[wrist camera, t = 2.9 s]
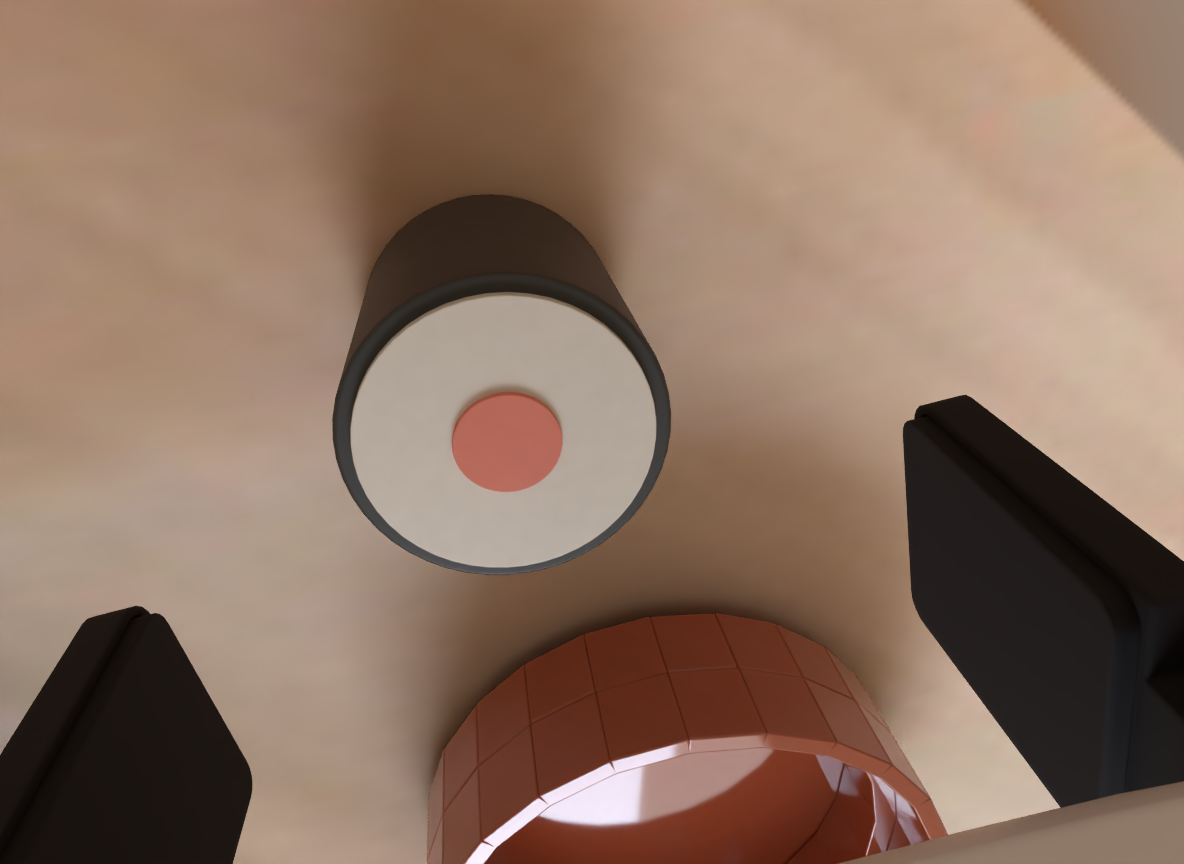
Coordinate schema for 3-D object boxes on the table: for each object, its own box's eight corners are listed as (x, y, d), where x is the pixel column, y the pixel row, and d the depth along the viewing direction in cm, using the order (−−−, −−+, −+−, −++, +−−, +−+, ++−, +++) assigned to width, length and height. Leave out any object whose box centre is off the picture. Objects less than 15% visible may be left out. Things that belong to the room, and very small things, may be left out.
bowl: (365, 676, 24) (345, 833, 19) (854, 545, 24) (946, 668, 20) (498, 968, 30) (506, 1135, 26) (881, 860, 31) (954, 1006, 26)
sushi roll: (327, 230, 18) (273, 330, 13) (584, 165, 18) (642, 237, 13) (409, 454, 21) (394, 620, 15) (633, 396, 21) (699, 538, 15)
